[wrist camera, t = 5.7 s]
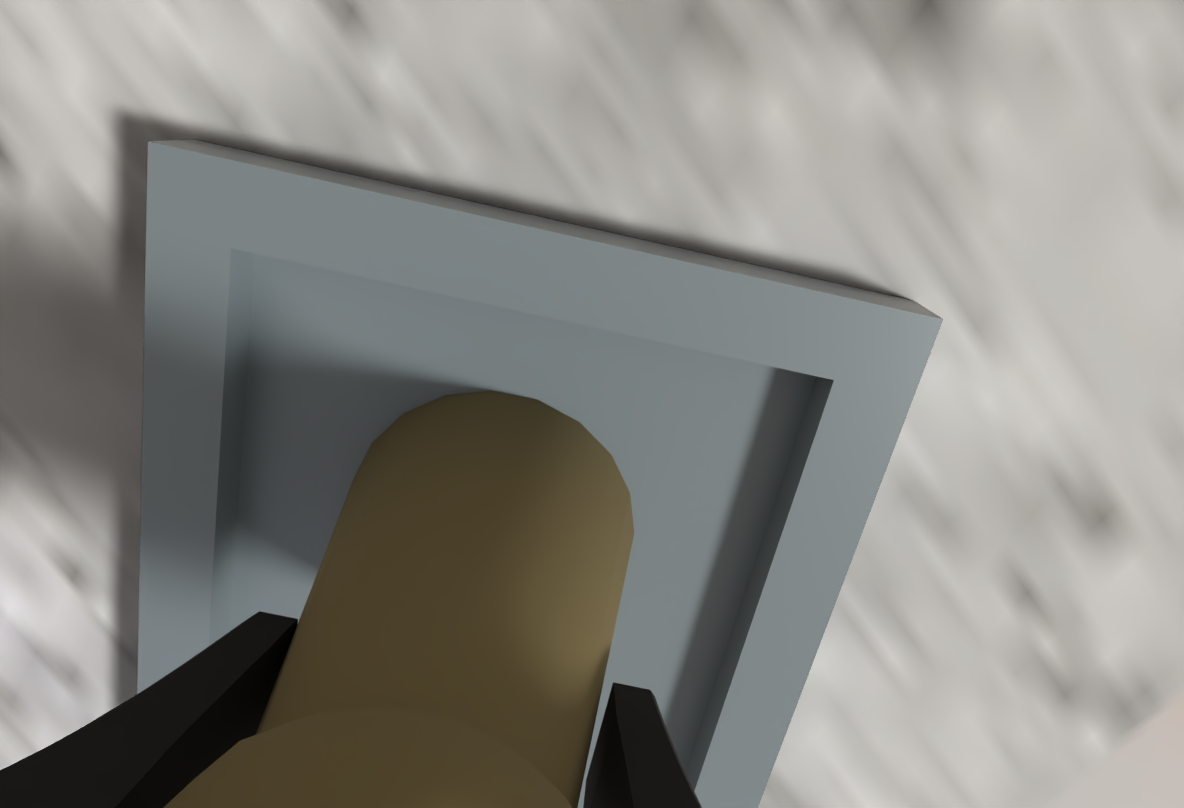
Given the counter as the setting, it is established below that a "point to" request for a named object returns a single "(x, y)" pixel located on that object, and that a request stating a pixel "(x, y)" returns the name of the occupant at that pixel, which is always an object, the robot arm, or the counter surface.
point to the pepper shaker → (448, 623)
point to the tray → (522, 368)
